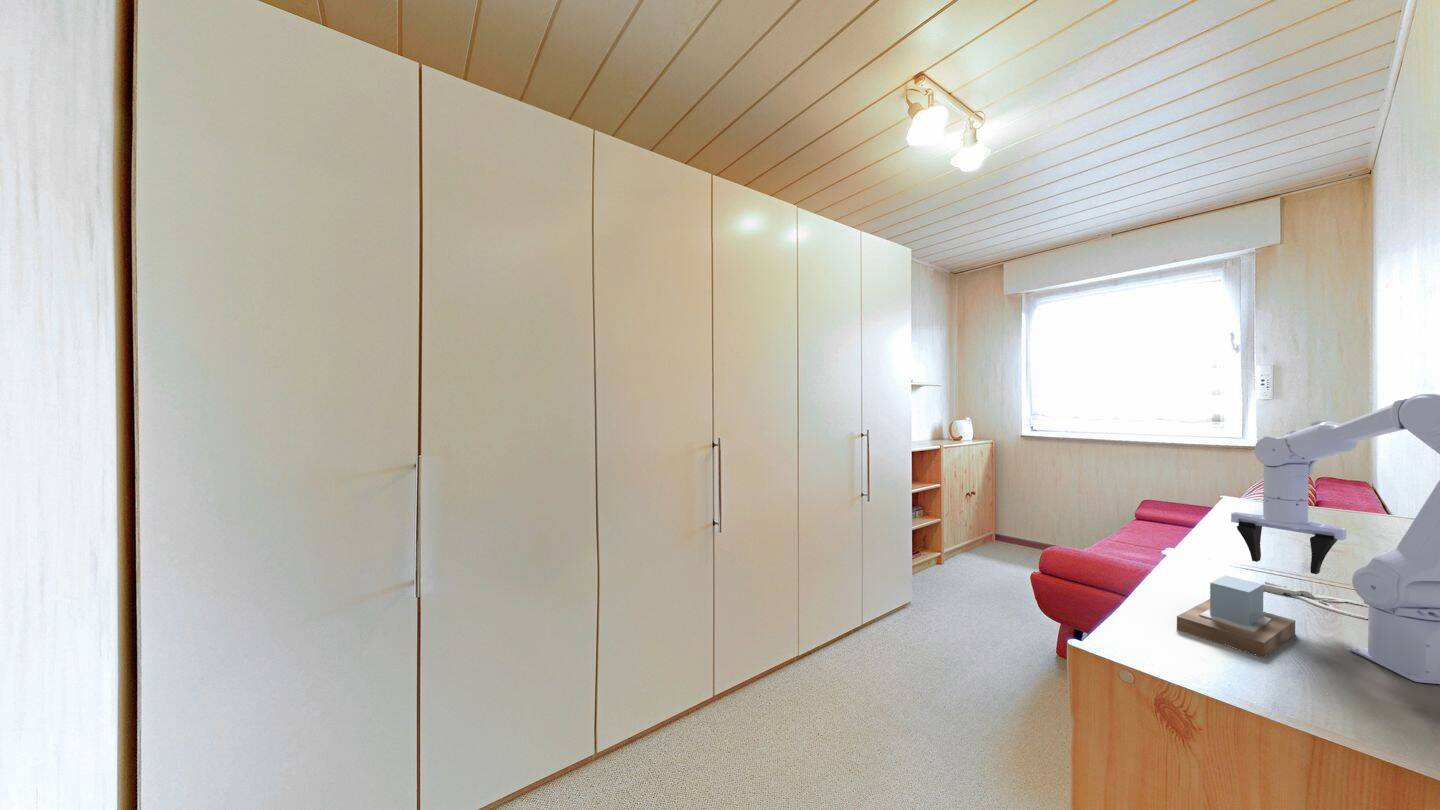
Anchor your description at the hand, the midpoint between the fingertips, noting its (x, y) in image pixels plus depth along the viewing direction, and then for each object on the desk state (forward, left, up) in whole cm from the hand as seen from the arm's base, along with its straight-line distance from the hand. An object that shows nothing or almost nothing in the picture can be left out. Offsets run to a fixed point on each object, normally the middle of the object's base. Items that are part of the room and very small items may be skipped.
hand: (1284, 566), depth 94 cm
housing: (-10, +15, -7) cm, 19 cm away
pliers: (+8, -12, -10) cm, 17 cm away
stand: (-10, +15, -9) cm, 20 cm away
